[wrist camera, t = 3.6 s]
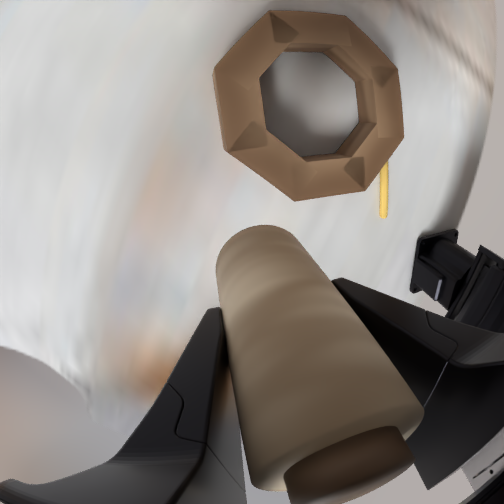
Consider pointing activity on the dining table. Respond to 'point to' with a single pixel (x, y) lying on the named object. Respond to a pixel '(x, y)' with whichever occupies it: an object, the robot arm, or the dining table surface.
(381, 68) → the brown octagonal ring
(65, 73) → the dining table surface
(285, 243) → the beige wooden peg
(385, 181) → the thin yellow rod
